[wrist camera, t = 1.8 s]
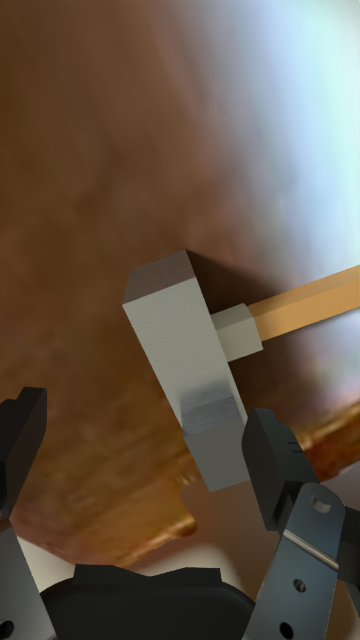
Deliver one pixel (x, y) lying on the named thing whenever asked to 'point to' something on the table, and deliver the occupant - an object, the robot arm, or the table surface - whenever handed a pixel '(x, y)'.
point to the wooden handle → (285, 312)
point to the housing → (189, 365)
